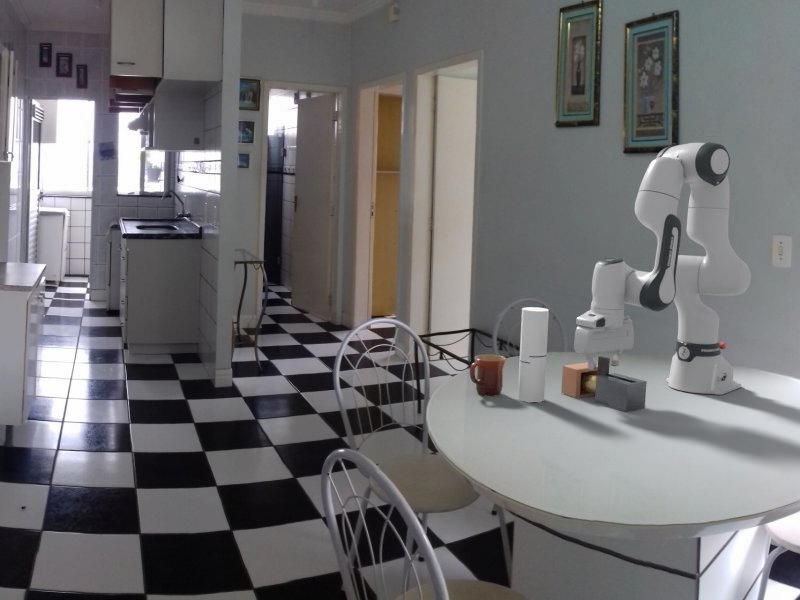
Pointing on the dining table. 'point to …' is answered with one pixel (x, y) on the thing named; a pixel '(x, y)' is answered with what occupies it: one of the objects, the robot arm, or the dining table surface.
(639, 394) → the sleeve
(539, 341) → the cylindrical container
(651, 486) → the dining table surface
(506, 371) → the dining table surface
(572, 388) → the peach pocketed block
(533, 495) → the dining table surface
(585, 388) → the tube
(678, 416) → the dining table surface
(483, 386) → the mug
